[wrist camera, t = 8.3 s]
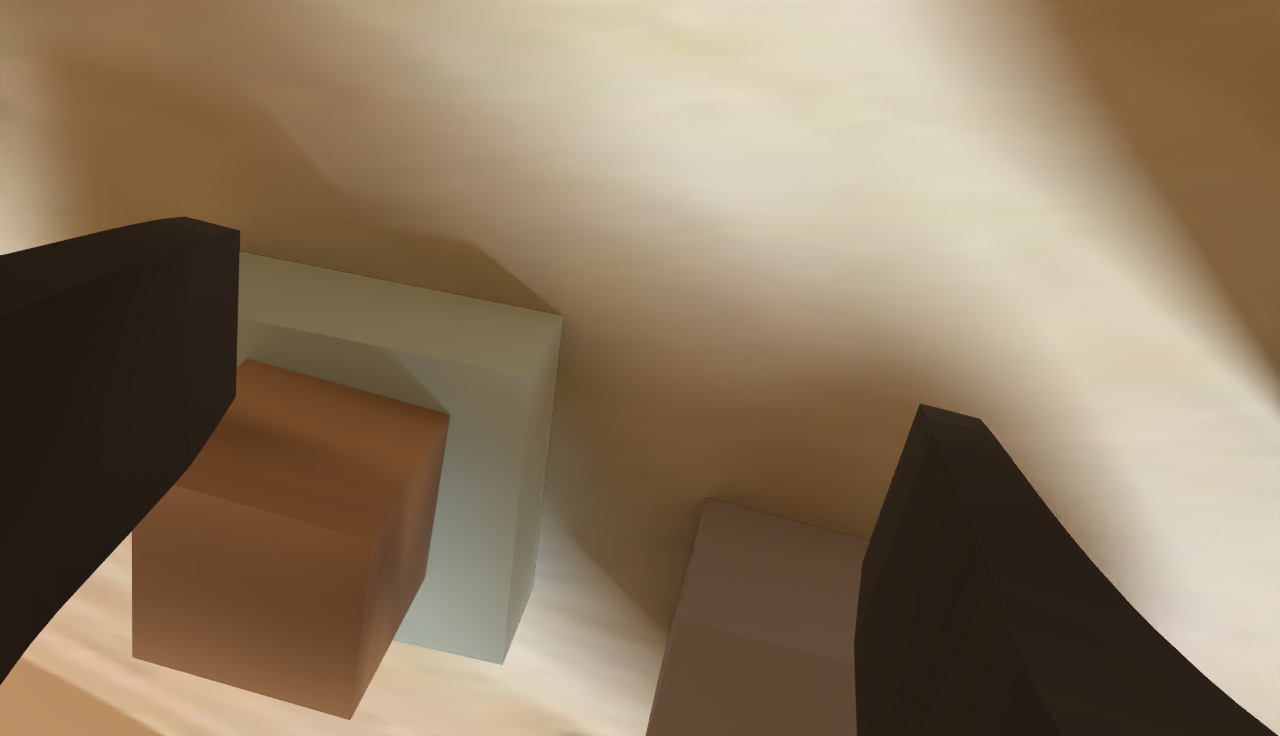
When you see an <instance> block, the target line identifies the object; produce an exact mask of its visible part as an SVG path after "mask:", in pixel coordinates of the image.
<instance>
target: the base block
mask: <svg viewBox="0 0 1280 736" xmlns="http://www.w3.org/2000/svg"><path fill="white" fill-rule="evenodd" d="M562 325H563V315H558V314H553V313H548V312H543V311H538V310H533V309H528V308H523V307H518V306H513V305H508V304H503V303H497V302H492V301H487V300H482V299H477V298H472V297H467V296H462V295H457V294H452V293H447V292H442V291H437V290H432V289H427V288H422V287H417V286H412V285H407V284H402V283H397V282H392V281H387V280H382V279H377V278H372V277H367V276H362V275H356V274H351V273H346V272H341V271H336V270H331V269H326V268H321V267H316V266H311V265H306V264H301V263H296V262H291V261H286V260H281V259H276V258H271V257H266V256H261V255H256V254H251V253H246V252H241V251H240V255H239V295H238V334H237V368H238V367H239V366H240V365H241V364H242V362H243V361H244V360H245V359H250V360H254V361H257V362H261V363H265V364H268V365H272V366H275V367H279V368H283V369H286V370H290V371H294V372H297V373H301V374H305V375H308V376H312V377H315V378H319V379H323V380H326V381H330V382H334V383H337V384H341V385H345V386H348V387H352V388H355V389H359V390H363V391H366V392H370V393H374V394H377V395H381V396H385V397H388V398H392V399H395V400H399V401H403V402H406V403H410V404H414V405H417V406H421V407H425V408H428V409H432V410H435V411H439V412H443V413H446V414H450V420H449V426H448V433H447V439H446V446H445V452H444V459H443V465H442V472H441V478H440V485H439V491H438V498H437V504H436V511H435V517H434V524H433V530H432V537H431V543H430V550H429V556H428V563H427V569H426V576H425V579H424V581H423V583H422V585H421V587H420V589H419V591H418V593H417V595H416V596H415V598H414V600H413V602H412V604H411V606H410V608H409V610H408V612H407V613H406V615H405V617H404V619H403V621H402V623H401V625H400V627H399V629H398V631H397V632H396V634H395V636H394V638H393V640H394V641H399V642H403V643H408V644H412V645H417V646H421V647H425V648H430V649H434V650H439V651H443V652H448V653H452V654H457V655H461V656H465V657H470V658H474V659H479V660H483V661H488V662H492V663H497V664H501V665H503V662H504V660H505V657H506V655H507V652H508V650H509V647H510V644H511V642H512V639H513V637H514V634H515V632H516V629H517V627H518V624H519V622H520V619H521V617H522V614H523V612H524V609H525V607H526V604H527V602H528V599H529V597H530V594H531V592H532V589H533V585H534V576H535V567H536V558H537V549H538V540H539V531H540V522H541V513H542V504H543V495H544V486H545V477H546V468H547V459H548V450H549V441H550V432H551V424H552V415H553V406H554V397H555V388H556V379H557V370H558V361H559V352H560V343H561V334H562Z"/></svg>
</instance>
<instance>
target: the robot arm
mask: <svg viewBox="0 0 1280 736" xmlns="http://www.w3.org/2000/svg"><path fill="white" fill-rule="evenodd" d="M239 255H240V231H239V230H235V229H231V228H227V227H223V226H219V225H215V224H211V223H208V222H204V221H200V220H196V219H192V218H188V217H178V218H167V219H160V220H154V221H149V222H143V223H138V224H133V225H129V226H124V227H120V228H115V229H111V230H106V231H102V232H98V233H93V234H89V235H85V236H81V237H77V238H72V239H68V240H64V241H60V242H56V243H51V244H47V245H43V246H39V247H34V248H30V249H26V250H22V251H18V252H13V253H9V254H5V255H0V685H1V683H2V682H3V681H4V679H5V678H6V677H7V675H8V674H9V672H10V671H11V669H12V668H13V667H14V666H15V664H16V663H17V661H18V660H19V659H20V657H21V656H22V655H23V653H24V652H25V651H26V649H27V648H28V647H29V645H30V644H31V643H32V642H33V640H34V639H35V638H36V637H37V636H38V634H39V633H40V632H41V631H42V630H43V628H44V627H45V626H46V625H47V624H48V622H49V621H50V620H51V619H52V618H53V617H54V615H55V614H56V613H57V612H58V611H59V609H60V608H61V607H62V606H63V605H64V604H65V603H66V602H67V601H68V600H69V599H70V598H71V596H72V595H73V594H74V593H75V592H76V591H77V590H78V589H79V588H80V587H81V586H82V585H83V583H84V582H85V581H86V580H87V579H88V578H89V577H90V576H91V575H92V574H93V573H94V571H95V570H96V569H97V568H98V567H99V566H100V565H101V564H102V563H103V562H104V561H105V560H106V558H107V557H108V556H109V555H110V554H111V553H112V552H113V551H114V550H115V549H116V548H117V547H118V545H119V544H120V543H121V542H122V541H123V540H124V539H125V538H126V537H127V536H128V535H129V534H130V532H131V531H132V530H133V529H134V528H135V527H136V526H137V525H138V524H139V523H140V522H141V521H142V519H143V518H144V517H145V516H146V515H147V514H148V513H149V512H150V511H151V510H152V508H153V507H154V506H155V505H156V504H157V503H158V502H159V501H160V500H161V498H162V497H163V496H164V495H165V494H166V493H167V492H168V491H169V490H170V488H171V487H172V486H173V485H174V484H175V483H176V482H177V481H178V479H179V478H180V477H181V476H182V475H183V474H184V473H185V471H186V470H187V469H188V468H189V467H190V466H191V464H192V463H193V461H194V460H195V458H196V457H197V455H198V454H199V453H200V451H201V450H202V448H203V447H204V445H205V444H206V442H207V441H208V440H209V438H210V437H211V435H212V434H213V432H214V430H215V429H216V427H217V426H218V424H219V423H220V421H221V419H222V418H223V416H224V415H225V413H226V412H227V410H228V408H229V407H230V405H231V404H232V402H233V400H234V399H235V397H236V374H237V334H238V295H239ZM854 665H855V696H856V724H857V736H1278V735H1277V734H1275V733H1274V732H1273V731H1271V730H1270V729H1269V728H1268V727H1266V726H1265V725H1264V724H1263V723H1261V722H1260V721H1259V720H1258V719H1256V718H1255V717H1254V716H1252V715H1251V714H1250V713H1249V712H1247V711H1246V710H1245V709H1244V708H1242V707H1241V706H1240V705H1239V704H1237V703H1236V702H1235V701H1234V700H1233V699H1231V698H1230V697H1229V696H1228V695H1227V694H1226V693H1224V692H1223V691H1222V690H1221V689H1220V688H1218V687H1217V686H1216V685H1215V684H1214V683H1213V682H1211V681H1210V680H1209V679H1208V678H1207V677H1206V676H1205V675H1203V674H1202V673H1201V672H1200V671H1199V670H1198V669H1197V668H1196V667H1195V666H1194V665H1193V664H1192V663H1191V662H1190V661H1188V660H1187V659H1186V658H1185V657H1184V656H1183V655H1182V654H1181V653H1180V652H1179V651H1178V650H1177V649H1176V648H1175V647H1173V646H1172V645H1171V644H1170V643H1169V642H1168V641H1167V640H1166V639H1165V638H1164V637H1163V636H1162V635H1161V634H1160V633H1158V632H1157V631H1156V630H1155V629H1154V628H1153V627H1152V626H1151V625H1150V624H1149V623H1148V622H1147V621H1146V620H1145V619H1144V618H1143V617H1142V616H1141V615H1140V614H1139V613H1138V611H1137V610H1136V609H1135V608H1134V607H1133V606H1132V605H1131V604H1130V603H1129V602H1128V601H1127V600H1126V599H1125V598H1124V596H1123V595H1122V594H1121V593H1120V592H1119V591H1118V590H1117V589H1116V588H1115V586H1114V585H1113V584H1112V583H1111V582H1110V581H1109V580H1108V579H1107V578H1106V577H1105V575H1104V574H1103V573H1102V572H1101V571H1100V570H1099V569H1098V568H1097V567H1096V565H1095V564H1094V563H1093V562H1092V561H1091V560H1090V558H1089V557H1088V556H1087V555H1086V554H1085V553H1084V551H1083V550H1082V549H1081V548H1080V547H1079V545H1078V544H1077V543H1076V542H1075V541H1074V539H1073V538H1072V537H1071V536H1070V534H1069V533H1068V532H1067V531H1066V530H1065V528H1064V527H1063V526H1062V525H1061V523H1060V522H1059V521H1058V519H1057V518H1056V517H1055V516H1054V514H1053V513H1052V512H1051V511H1050V509H1049V508H1048V507H1047V505H1046V504H1045V503H1044V501H1043V500H1042V499H1041V498H1040V496H1039V495H1038V494H1037V492H1036V491H1035V490H1034V488H1033V487H1032V486H1031V484H1030V483H1029V482H1028V480H1027V479H1026V478H1025V476H1024V475H1023V474H1022V472H1021V471H1020V470H1019V468H1018V467H1017V466H1016V464H1015V463H1014V462H1013V460H1012V459H1011V458H1010V456H1009V455H1008V454H1007V452H1006V451H1005V449H1004V448H1003V447H1002V445H1001V444H1000V443H999V441H998V440H997V439H996V438H995V436H994V435H993V434H992V432H991V431H990V430H989V429H988V427H987V426H986V425H985V424H984V423H983V422H982V421H981V420H980V419H978V418H975V417H971V416H967V415H963V414H959V413H955V412H951V411H947V410H943V409H939V408H935V407H931V406H927V405H923V404H920V405H919V408H918V410H917V413H916V416H915V419H914V421H913V424H912V427H911V430H910V432H909V435H908V438H907V441H906V443H905V446H904V449H903V452H902V454H901V457H900V460H899V463H898V465H897V468H896V471H895V474H894V476H893V479H892V482H891V485H890V487H889V490H888V493H887V496H886V498H885V501H884V504H883V507H882V509H881V512H880V515H879V518H878V520H877V523H876V526H875V529H874V531H873V534H872V537H871V540H870V542H869V545H868V548H867V551H866V553H865V556H864V559H863V562H862V571H861V580H860V589H859V598H858V606H857V617H856V627H855V638H854Z"/></svg>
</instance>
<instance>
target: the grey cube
mask: <svg viewBox="0 0 1280 736" xmlns="http://www.w3.org/2000/svg"><path fill="white" fill-rule="evenodd" d="M869 542H870V540H866V539H862V538H858V537H854V536H851V535H847V534H843V533H839V532H835V531H831V530H828V529H824V528H820V527H816V526H812V525H809V524H805V523H801V522H797V521H793V520H790V519H786V518H782V517H778V516H774V515H771V514H767V513H763V512H759V511H755V510H751V509H748V508H744V507H740V506H736V505H732V504H729V503H725V502H721V501H717V500H713V499H710V498H706V499H705V502H704V506H703V510H702V513H701V517H700V521H699V525H698V528H697V532H696V536H695V539H694V543H693V547H692V550H691V554H690V558H689V561H688V565H687V569H686V572H685V576H684V580H683V583H682V587H681V591H680V595H679V598H678V602H677V606H676V609H675V613H674V617H673V620H672V624H671V628H670V631H669V635H668V639H667V643H666V648H665V652H664V657H663V661H662V666H661V670H660V674H659V679H658V683H657V688H656V692H655V697H654V701H653V705H652V710H651V714H650V719H649V723H648V728H647V732H646V736H857V724H856V696H855V665H854V638H855V627H856V617H857V606H858V598H859V589H860V580H861V571H862V562H863V559H864V556H865V553H866V551H867V548H868V545H869Z"/></svg>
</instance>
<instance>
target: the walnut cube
mask: <svg viewBox="0 0 1280 736" xmlns="http://www.w3.org/2000/svg"><path fill="white" fill-rule="evenodd" d="M449 420H450V414H446V413H443V412H439V411H435V410H432V409H428V408H425V407H421V406H417V405H414V404H410V403H406V402H403V401H399V400H395V399H392V398H388V397H385V396H381V395H377V394H374V393H370V392H366V391H363V390H359V389H355V388H352V387H348V386H345V385H341V384H337V383H334V382H330V381H326V380H323V379H319V378H315V377H312V376H308V375H305V374H301V373H297V372H294V371H290V370H286V369H283V368H279V367H275V366H272V365H268V364H265V363H261V362H257V361H254V360H250V359H245V360H244V361H243V362H242V364H241V365H240V366H239V367H238V368H237V374H236V397H235V399H234V400H233V402H232V404H231V405H230V407H229V408H228V410H227V412H226V413H225V415H224V416H223V418H222V419H221V421H220V423H219V424H218V426H217V427H216V429H215V430H214V432H213V434H212V435H211V437H210V438H209V440H208V441H207V442H206V444H205V445H204V447H203V448H202V450H201V451H200V453H199V454H198V455H197V457H196V458H195V460H194V461H193V463H192V464H191V466H190V467H189V468H188V469H187V470H186V471H185V473H184V474H183V475H182V476H181V477H180V478H179V479H178V481H177V482H176V483H175V484H174V485H173V486H172V487H171V488H170V490H169V491H168V492H167V493H166V494H165V495H164V496H163V497H162V498H161V500H160V501H159V502H158V503H157V504H156V505H155V506H154V507H153V508H152V510H151V511H150V512H149V513H148V514H147V515H146V516H145V517H144V518H143V519H142V521H141V522H140V523H139V524H138V525H137V526H136V527H135V528H134V529H133V530H132V657H133V658H137V659H140V660H144V661H147V662H151V663H154V664H158V665H161V666H164V667H168V668H171V669H175V670H178V671H182V672H185V673H189V674H192V675H196V676H199V677H203V678H206V679H209V680H213V681H216V682H220V683H223V684H227V685H230V686H234V687H237V688H241V689H244V690H248V691H251V692H254V693H258V694H261V695H265V696H268V697H272V698H275V699H279V700H282V701H286V702H289V703H293V704H296V705H299V706H303V707H306V708H310V709H313V710H317V711H320V712H324V713H327V714H331V715H334V716H338V717H341V718H344V719H348V720H351V718H352V716H353V714H354V712H355V710H356V708H357V706H358V704H359V703H360V701H361V699H362V697H363V695H364V693H365V691H366V689H367V687H368V685H369V684H370V682H371V680H372V678H373V676H374V674H375V672H376V670H377V668H378V667H379V665H380V663H381V661H382V659H383V657H384V655H385V653H386V651H387V649H388V648H389V646H390V644H391V642H392V640H393V638H394V636H395V634H396V632H397V631H398V629H399V627H400V625H401V623H402V621H403V619H404V617H405V615H406V613H407V612H408V610H409V608H410V606H411V604H412V602H413V600H414V598H415V596H416V595H417V593H418V591H419V589H420V587H421V585H422V583H423V581H424V579H425V576H426V569H427V563H428V556H429V550H430V543H431V537H432V530H433V524H434V517H435V511H436V504H437V498H438V491H439V485H440V478H441V472H442V465H443V459H444V452H445V446H446V439H447V433H448V426H449Z"/></svg>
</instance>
